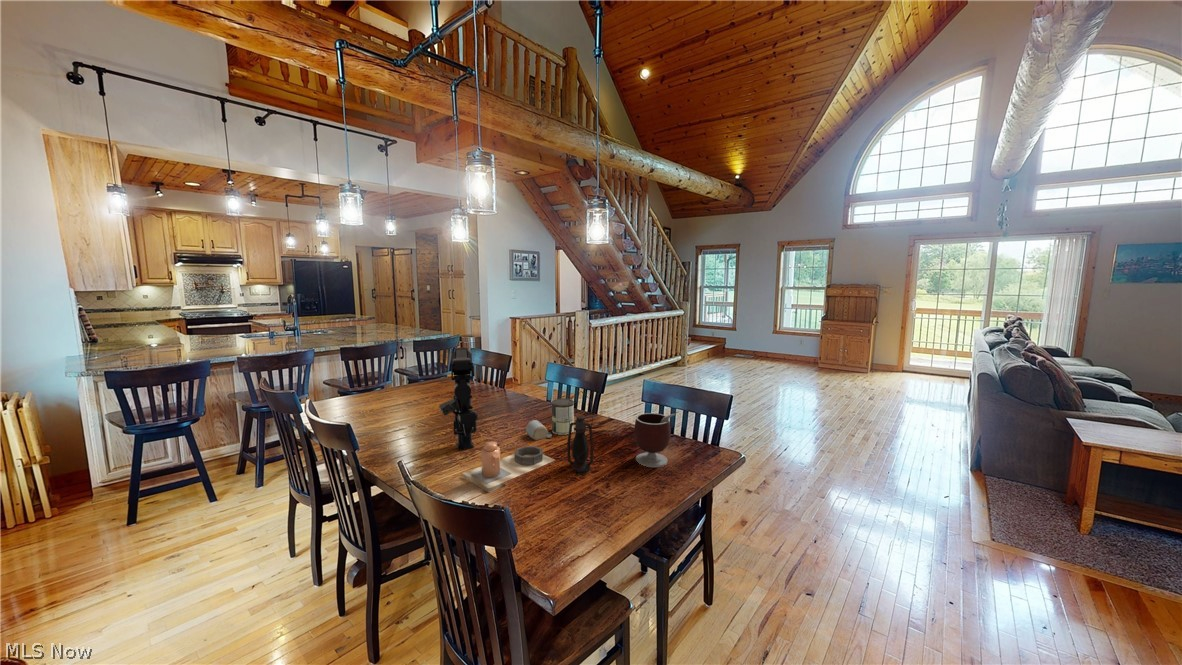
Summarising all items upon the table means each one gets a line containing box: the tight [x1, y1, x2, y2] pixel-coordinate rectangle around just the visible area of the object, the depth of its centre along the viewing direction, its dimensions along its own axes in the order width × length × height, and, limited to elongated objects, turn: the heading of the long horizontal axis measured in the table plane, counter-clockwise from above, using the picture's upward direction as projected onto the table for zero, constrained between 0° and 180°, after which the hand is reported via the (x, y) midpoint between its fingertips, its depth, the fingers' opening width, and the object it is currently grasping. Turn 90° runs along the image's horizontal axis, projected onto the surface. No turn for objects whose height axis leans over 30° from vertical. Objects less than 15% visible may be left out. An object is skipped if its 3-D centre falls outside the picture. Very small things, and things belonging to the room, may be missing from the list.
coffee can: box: [551, 398, 575, 436], centre depth 196 cm, size 10×10×14 cm
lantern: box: [566, 390, 595, 475], centre depth 156 cm, size 8×8×30 cm
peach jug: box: [480, 441, 501, 478], centre depth 149 cm, size 9×6×11 cm
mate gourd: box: [633, 412, 676, 468], centre depth 164 cm, size 16×14×20 cm
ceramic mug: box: [525, 419, 553, 441], centre depth 187 cm, size 11×8×8 cm
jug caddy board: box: [462, 445, 556, 493], centre depth 157 cm, size 30×16×4 cm, turn 137°
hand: (464, 432), depth 161 cm, fingers open, 9 cm apart
